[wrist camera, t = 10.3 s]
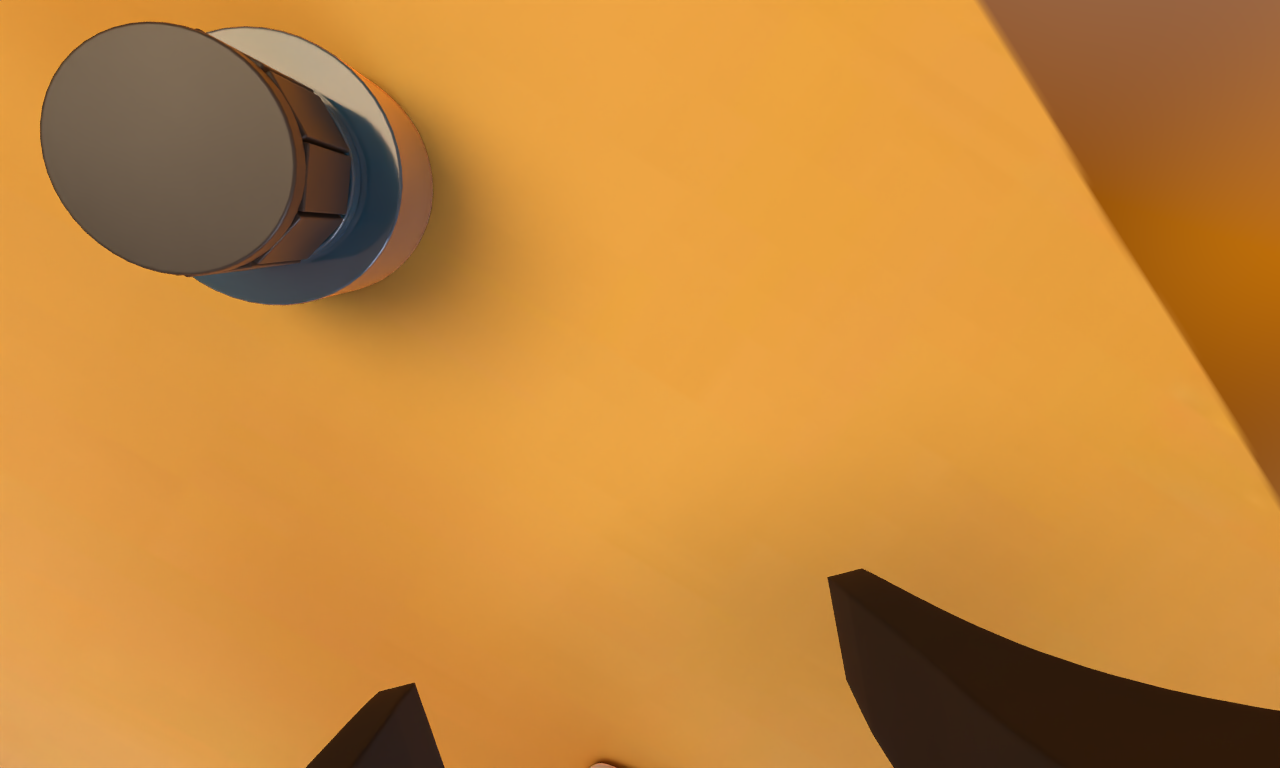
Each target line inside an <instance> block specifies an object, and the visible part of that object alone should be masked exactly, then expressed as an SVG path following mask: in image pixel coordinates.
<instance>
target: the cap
mask: <svg viewBox="0 0 1280 768" xmlns="http://www.w3.org/2000/svg"><path fill="white" fill-rule="evenodd" d="M40 140H41V147H42V154H43V159H44V162H45V166H46V169H47V173H48V175H49V178H50V180H51V182H52V185H53V187H54V189H55V191H56V193H57V195H58V197H59V198H60V200H61V202H62V204H63V205H64V207H65V208H66V209H67V211H68V212H69V213H70V215H71V216H72V218H73V219H74V220H75V221H76V222H77V223H78V224H79V225H80V226H81V228H82V229H83V230H84V231H85V232H86V233H87V234H89V235H90V236H91V237H92V238H93V239H94V240H95V241H97V242H98V243H99V244H101V245H102V246H103V247H105V248H106V249H108V250H109V251H111V252H112V253H113V254H115V255H117V256H119V257H121V258H123V259H125V260H126V261H128V262H131V263H133V264H136V265H138V266H141V267H143V268H146V269H150V270H153V271H157V272H161V273H167V274H174V275H185V276H186V277H193V276H202V275H211V274H219V273H228V272H237V271H246V270H253V269H260V268H267V267H273V266H280V265H287V264H294V263H300V262H301V260H304V259H308V258H309V257H310V256H311V255H312V253H313V252H314V251H315V250H316V249H317V248H318V247H319V246H320V245H321V244H322V243H323V242H324V241H325V240H326V239H327V238H328V237H329V236H330V235H331V233H332V232H333V231H334V230H335V229H336V228H337V227H338V226H339V225H340V224H341V223H342V222H343V218H342V217H341V216H340V215H339V214H342V215H345V214H346V213H347V204H348V192H349V181H350V169H351V157H350V156H347V155H344V154H345V153H347V152H349V148H348V146H347V144H346V142H345V141H344V139H343V137H342V135H341V133H340V132H339V130H338V128H337V126H336V125H335V123H334V121H333V119H332V118H331V116H330V114H329V112H328V110H327V109H326V107H325V105H324V103H323V102H322V100H321V98H320V97H319V96H318V95H316V94H314V91H313V90H312V89H310V88H309V87H307V86H305V85H303V84H301V83H299V82H297V81H296V80H294V79H292V78H290V77H288V76H286V75H284V74H282V73H281V72H279V71H277V70H275V69H273V68H271V67H269V66H268V65H266V64H264V63H262V62H260V61H258V60H256V59H254V58H253V57H251V56H249V55H247V54H245V53H243V52H241V51H239V50H237V49H236V48H234V47H232V46H230V45H228V44H226V43H224V42H222V41H220V40H219V39H217V38H215V37H213V36H211V35H209V34H207V33H205V32H203V31H202V30H200V29H192V28H189V27H186V26H182V25H177V24H171V23H166V22H137V23H129V24H125V25H121V26H116V27H113V28H111V29H108V30H105V31H103V32H100V33H98V34H96V35H95V36H93V37H91V38H89V39H88V40H86V41H84V42H83V43H82V44H81V45H80V46H78V47H77V48H76V49H75V50H73V51H72V52H71V53H70V55H69V56H68V57H67V58H66V59H65V60H64V61H63V62H62V64H61V65H60V67H59V68H58V70H57V71H56V73H55V74H54V76H53V78H52V80H51V82H50V85H49V87H48V89H47V91H46V95H45V99H44V102H43V106H42V113H41V121H40Z"/></svg>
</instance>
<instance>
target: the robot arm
mask: <svg viewBox="0 0 1280 768" xmlns="http://www.w3.org/2000/svg"><path fill="white" fill-rule="evenodd" d="M828 582H829V588H830V593H831V599H832V604H833V610H834V615H835V621H836V626H837V631H838V637H839V642H840V648H841V653H842V659H843V664H844V670H845V675H846V680H847V682H848V684H849V686H850V688H851V690H852V693H853V695H854V697H855V699H856V701H857V703H858V705H859V707H860V710H861V712H862V714H863V716H864V718H865V720H866V722H867V724H868V726H869V728H870V730H871V732H872V734H873V735H874V737H875V739H876V740H877V742H878V743H879V745H880V747H881V748H882V750H883V751H884V753H885V755H886V756H887V758H888V759H889V761H890V762H891V764H892V766H893V767H894V768H1280V711H1277V710H1271V709H1265V708H1259V707H1253V706H1248V705H1243V704H1237V703H1232V702H1227V701H1221V700H1216V699H1211V698H1205V697H1200V696H1196V695H1191V694H1187V693H1182V692H1178V691H1173V690H1169V689H1164V688H1160V687H1156V686H1153V685H1149V684H1145V683H1141V682H1137V681H1133V680H1130V679H1126V678H1122V677H1118V676H1114V675H1111V674H1107V673H1104V672H1100V671H1097V670H1094V669H1090V668H1087V667H1084V666H1081V665H1078V664H1075V663H1072V662H1069V661H1066V660H1063V659H1060V658H1057V657H1054V656H1051V655H1048V654H1045V653H1042V652H1039V651H1037V650H1034V649H1031V648H1029V647H1026V646H1024V645H1021V644H1018V643H1016V642H1013V641H1011V640H1009V639H1006V638H1004V637H1002V636H999V635H997V634H994V633H992V632H990V631H987V630H985V629H983V628H980V627H978V626H976V625H974V624H971V623H969V622H967V621H965V620H963V619H960V618H958V617H956V616H954V615H952V614H950V613H948V612H946V611H944V610H942V609H940V608H938V607H936V606H934V605H932V604H930V603H928V602H926V601H924V600H922V599H920V598H918V597H916V596H914V595H912V594H910V593H908V592H907V591H905V590H903V589H901V588H899V587H897V586H895V585H893V584H891V583H889V582H888V581H886V580H884V579H882V578H880V577H878V576H876V575H874V574H872V573H870V572H868V571H866V570H864V569H858V570H854V571H850V572H846V573H843V574H839V575H835V576H831V577H828ZM306 768H444V765H443V762H442V759H441V756H440V754H439V751H438V748H437V745H436V742H435V739H434V737H433V734H432V731H431V728H430V725H429V722H428V720H427V717H426V714H425V711H424V708H423V705H422V703H421V700H420V697H419V694H418V691H417V688H416V685H415V683H411V684H407V685H403V686H399V687H396V688H392V689H388V690H384V691H380V692H378V693H377V694H376V695H375V696H374V697H373V698H372V699H371V700H369V701H368V702H367V703H366V704H365V705H364V706H363V707H362V708H361V709H360V710H359V711H358V713H357V714H356V715H355V716H354V717H353V718H352V719H351V720H350V721H349V722H348V723H347V724H346V725H345V726H344V727H343V728H342V729H341V730H340V732H339V733H338V734H337V735H336V736H335V737H334V738H333V739H332V740H331V741H330V742H329V743H328V744H327V746H326V747H325V748H324V749H323V750H322V751H321V752H320V753H319V754H318V755H317V756H316V757H315V758H314V759H313V760H312V761H311V762H310V764H309V765H308V766H307V767H306ZM590 768H616V767H614V766H611V765H608V764H604V763H598V764H595V765H593V766H591V767H590Z"/></svg>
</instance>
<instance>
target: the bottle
mask: <svg viewBox="0 0 1280 768" xmlns="http://www.w3.org/2000/svg"><path fill="white" fill-rule="evenodd" d="M206 33H207V34H209V35H211V36H213V37H215V38H217V39H219V40H220V41H222V42H224V43H226V44H228V45H230V46H232V47H234V48H236V49H237V50H239V51H241V52H243V53H245V54H247V55H249V56H251V57H253V58H254V59H256V60H258V61H260V62H262V63H264V64H266V65H268V66H269V67H271V68H273V69H275V70H277V71H279V72H281V73H282V74H284V75H286V76H288V77H290V78H292V79H294V80H296V81H297V82H299V83H301V84H303V85H305V86H307V87H309V88H310V89H312V90H313V91H314V94H316V95H318V96H319V97H320V98H321V100H322V102H323V103H324V105H325V107H326V109H327V110H328V112H329V114H330V116H331V118H332V119H333V121H334V123H335V125H336V126H337V128H338V130H339V132H340V133H341V135H342V137H343V139H344V141H345V142H346V144H347V146H348V148H349V152H347V153H345V154H344V155H347V156H350V157H351V169H350V181H349V192H348V204H347V213H346V214H345V215H342V214H339V215H340V216H341V217H342V218H343V222H342V223H341V224H340V225H339V226H338V227H337V228H336V229H335V230H334V231H333V232H332V233H331V235H330V236H329V237H328V238H327V239H326V240H325V241H324V242H323V243H322V244H321V245H320V246H319V247H318V248H317V249H316V250H315V251H314V252H313V253H312V255H311V256H310V257H309V258H308V259H304V260H301V262H300V263H294V264H287V265H280V266H273V267H267V268H260V269H253V270H246V271H237V272H228V273H219V274H211V275H202V276H193V278H195V279H196V280H198V281H199V282H201V283H203V284H204V285H206V286H208V287H210V288H212V289H214V290H215V291H218V292H220V293H223V294H225V295H228V296H230V297H233V298H236V299H240V300H243V301H247V302H251V303H258V304H265V305H293V304H302V303H307V302H311V301H315V300H319V299H323V298H327V297H331V296H335V295H338V294H342V293H346V292H350V291H354V290H358V289H362V288H364V287H367V286H370V285H372V284H375V283H377V282H378V281H380V280H382V279H384V278H386V277H387V276H389V275H390V274H391V273H393V272H394V271H395V270H397V269H398V268H399V267H400V266H401V265H402V264H403V263H404V262H405V261H406V260H407V259H408V258H409V257H410V255H411V254H412V253H413V251H414V250H415V249H416V247H417V245H418V244H419V242H420V240H421V238H422V236H423V234H424V232H425V229H426V226H427V224H428V221H429V217H430V212H431V208H432V198H433V180H432V173H431V166H430V162H429V158H428V155H427V151H426V148H425V146H424V144H423V141H422V139H421V137H420V134H419V133H418V131H417V129H416V128H415V126H414V124H413V122H412V121H411V119H410V118H409V117H408V116H407V114H406V113H405V112H404V110H403V109H402V108H401V107H400V106H399V105H398V104H397V103H396V102H395V100H394V99H393V98H392V97H391V96H389V95H388V94H387V93H386V92H384V91H383V90H382V89H381V88H380V87H378V86H377V85H376V84H374V83H373V82H371V81H370V80H369V79H367V78H366V77H364V76H363V75H362V74H360V73H359V72H357V71H356V70H355V69H353V68H352V67H350V66H349V65H348V64H346V63H345V62H343V61H342V60H341V59H339V58H338V57H336V56H335V55H333V54H332V53H330V52H329V51H327V50H325V49H324V48H322V47H321V46H319V45H317V44H315V43H313V42H311V41H308V40H306V39H304V38H302V37H299V36H296V35H293V34H290V33H287V32H284V31H280V30H275V29H270V28H264V27H248V26H242V27H230V28H223V29H219V30H214V31H210V32H206Z"/></svg>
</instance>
